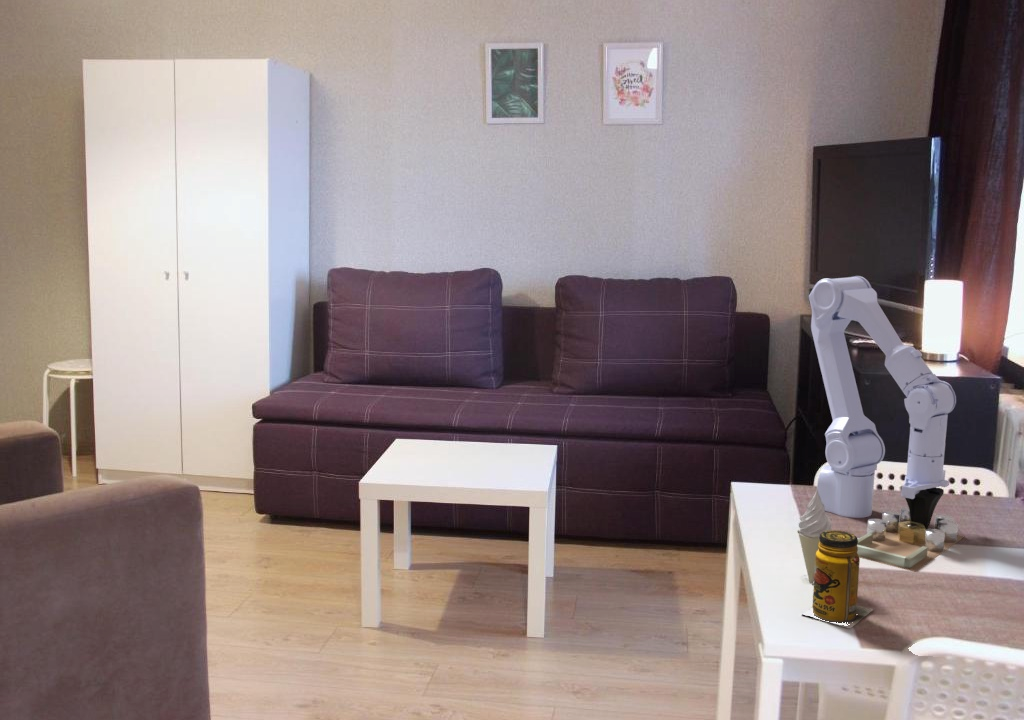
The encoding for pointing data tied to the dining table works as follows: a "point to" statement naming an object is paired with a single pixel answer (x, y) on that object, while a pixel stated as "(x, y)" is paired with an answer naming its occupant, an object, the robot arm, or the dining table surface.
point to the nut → (911, 532)
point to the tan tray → (897, 551)
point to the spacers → (933, 537)
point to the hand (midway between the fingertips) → (920, 529)
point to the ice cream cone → (812, 532)
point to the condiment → (837, 579)
